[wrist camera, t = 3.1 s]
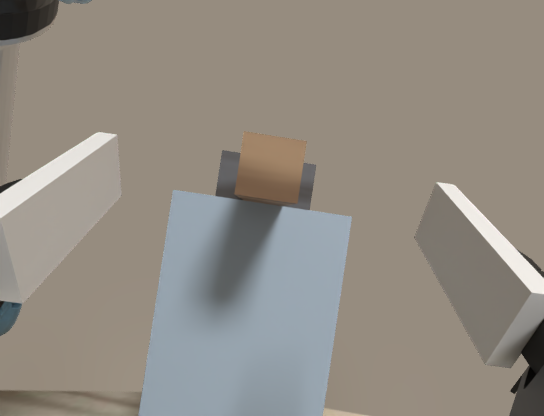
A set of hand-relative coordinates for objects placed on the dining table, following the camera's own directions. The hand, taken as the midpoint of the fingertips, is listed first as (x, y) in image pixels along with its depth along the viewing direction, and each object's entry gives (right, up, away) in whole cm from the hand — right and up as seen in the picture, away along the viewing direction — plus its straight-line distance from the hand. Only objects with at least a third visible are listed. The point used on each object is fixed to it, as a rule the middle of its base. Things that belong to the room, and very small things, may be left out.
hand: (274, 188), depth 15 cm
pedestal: (-6, -30, +23) cm, 39 cm away
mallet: (-1, 0, +16) cm, 16 cm away
